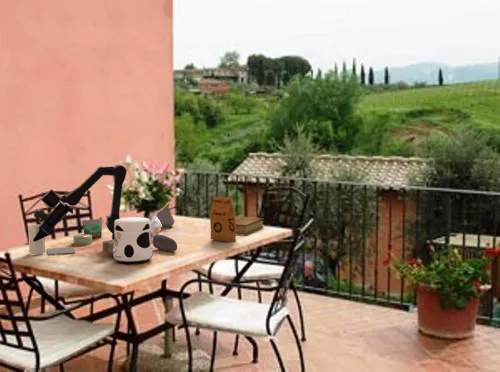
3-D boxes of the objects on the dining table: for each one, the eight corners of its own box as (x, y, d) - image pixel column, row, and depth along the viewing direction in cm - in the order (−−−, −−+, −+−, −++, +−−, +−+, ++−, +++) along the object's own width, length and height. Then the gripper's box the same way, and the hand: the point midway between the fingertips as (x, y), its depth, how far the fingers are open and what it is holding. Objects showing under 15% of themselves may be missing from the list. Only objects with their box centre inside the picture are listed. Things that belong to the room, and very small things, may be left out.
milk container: (105, 260, 279) (104, 220, 277) (138, 254, 291) (137, 215, 289) (127, 267, 267) (126, 225, 265) (161, 260, 279) (160, 220, 277)
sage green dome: (95, 243, 315) (94, 235, 315) (77, 246, 310) (77, 238, 310) (88, 240, 323) (87, 233, 322) (70, 243, 317) (70, 235, 317)
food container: (90, 240, 322) (89, 221, 321) (82, 239, 326) (81, 220, 324) (109, 236, 332) (108, 217, 330) (101, 235, 335) (100, 216, 334)
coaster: (73, 248, 305) (73, 246, 305) (75, 253, 294) (75, 252, 294) (47, 250, 301) (47, 248, 301) (47, 255, 290) (47, 254, 290)
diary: (233, 225, 364) (233, 215, 363) (263, 228, 356) (263, 218, 356) (214, 232, 343) (214, 222, 343) (246, 235, 336) (246, 224, 335)
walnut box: (122, 256, 288) (121, 241, 287) (111, 258, 283) (111, 243, 282) (113, 254, 292) (113, 239, 291) (103, 257, 287) (102, 241, 286)
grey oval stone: (180, 252, 295) (180, 237, 294) (172, 254, 292) (171, 239, 291) (160, 247, 306) (160, 233, 305) (151, 249, 302) (151, 234, 301)
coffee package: (226, 243, 313) (225, 199, 310) (207, 240, 321) (207, 197, 318) (239, 240, 321) (239, 197, 318) (220, 237, 328) (220, 195, 326)
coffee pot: (149, 227, 357) (149, 200, 356) (163, 224, 367) (162, 198, 365) (179, 231, 346) (178, 203, 344) (192, 227, 355) (192, 201, 353)
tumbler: (46, 253, 294) (45, 225, 292) (32, 255, 290) (31, 227, 288) (42, 251, 299) (40, 223, 297) (28, 253, 295) (26, 225, 293)
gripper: (43, 200, 301) (20, 224, 299) (44, 205, 284) (19, 231, 282) (61, 215, 305) (38, 239, 303) (63, 222, 287) (38, 248, 285)
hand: (33, 239), depth 293 cm, fingers closed on tumbler, 7 cm apart
